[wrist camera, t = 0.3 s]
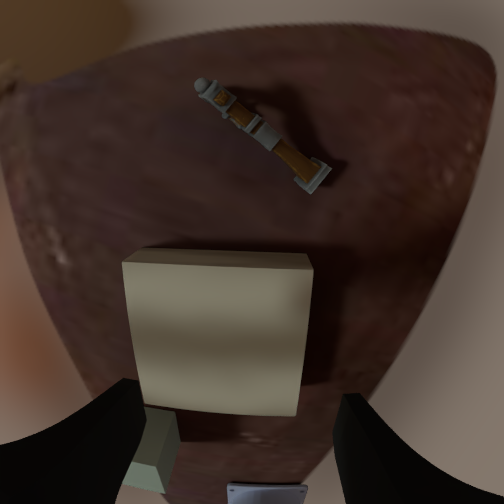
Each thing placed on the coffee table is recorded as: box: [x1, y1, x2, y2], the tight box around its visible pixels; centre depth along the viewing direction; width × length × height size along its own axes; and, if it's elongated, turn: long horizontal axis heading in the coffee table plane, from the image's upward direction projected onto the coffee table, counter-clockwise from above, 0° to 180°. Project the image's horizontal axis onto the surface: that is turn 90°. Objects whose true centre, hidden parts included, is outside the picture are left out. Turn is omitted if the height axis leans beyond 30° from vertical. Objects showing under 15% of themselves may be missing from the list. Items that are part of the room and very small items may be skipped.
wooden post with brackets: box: [195, 78, 332, 194], centre depth 16 cm, size 2×8×4 cm, turn 52°
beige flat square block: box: [122, 248, 314, 416], centre depth 19 cm, size 10×10×3 cm
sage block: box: [122, 407, 181, 493], centre depth 20 cm, size 4×4×6 cm
